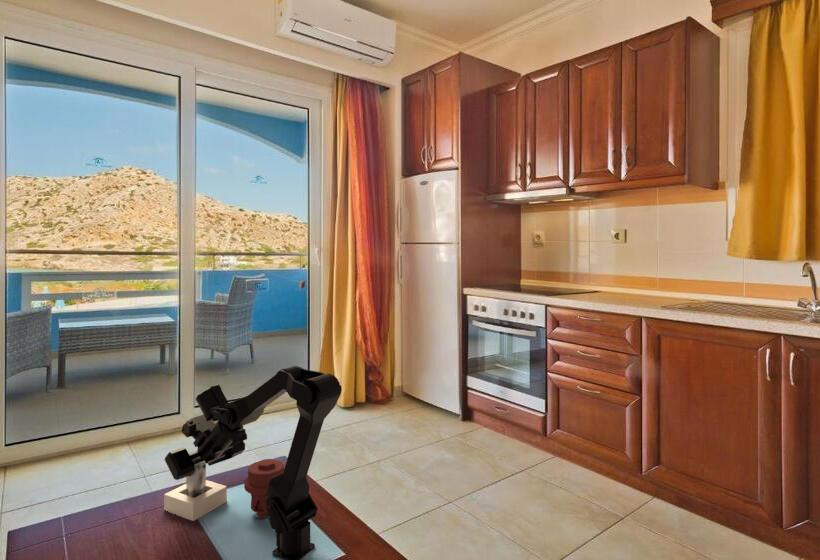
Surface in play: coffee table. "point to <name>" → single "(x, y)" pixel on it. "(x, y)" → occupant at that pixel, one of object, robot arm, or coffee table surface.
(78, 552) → the coffee table surface
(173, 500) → the docking block
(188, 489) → the cylinder
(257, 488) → the mechanical component
